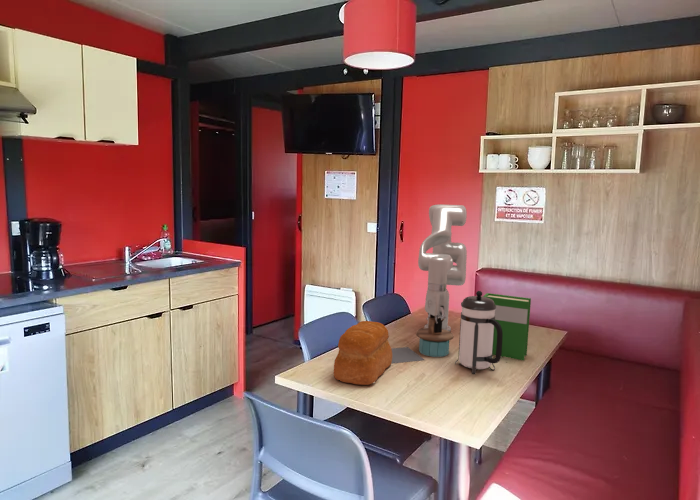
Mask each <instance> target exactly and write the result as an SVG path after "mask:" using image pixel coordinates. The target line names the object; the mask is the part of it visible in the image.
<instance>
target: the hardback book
mask: <svg viewBox="0 0 700 500" xmlns="http://www.w3.org/2000/svg"><path fill="white" fill-rule="evenodd" d="M482 297H487V298H490V299H492V300H493V301H494V303H495V305H496V309H495V320H496V321H497V322H499V324H500V325H501V328H502V332H503V339H502V354H501V358H502V357H503V358H506V359H507V358H508V359H514V360H518V361H525V356H527V354H528V343H529V331H530V330H529V329H530V318H531V317H530V316H531V305H532V298H531V297H529V298H528V297H522V296H514V295H507V294H504V295H503V294H498V293H491V292H490V293H489V292H487V293H485V294H484V295H482ZM493 336H494V341H493V348H492V351H493V356H496V345H497V330H496V327H495V326H494V333H493Z"/></svg>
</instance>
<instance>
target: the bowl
mask: <svg viewBox="0 0 700 500" xmlns="http://www.w3.org/2000/svg"><path fill="white" fill-rule="evenodd" d="M418 344H419V345H418V352H419V353H420V354H421V355H424V356H427V357H434V358H442V357H446V356H448V355H449V352H450V340H449V341H440V342H438V341H428V340H424V339H421V338H419V343H418Z"/></svg>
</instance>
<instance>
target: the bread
mask: <svg viewBox="0 0 700 500" xmlns="http://www.w3.org/2000/svg"><path fill="white" fill-rule="evenodd" d="M389 334H390V333H389V329H388V328H387V327H386V326H385V324H383V323H381V322H377V321H370V320H362V321H359V322H358V323H356V324H354V325H351V326H350V327H349V328H347V329H346V330H345V331H344V333H343V334H341V335H340V336H339V339H338V344H337V348H338V352H337V355H336V357H335V359H334V363H333V376H334V378H335V380H336V381H339V380H340V382H342V383H348V384H351V385H352V384H353V385H361V386H362V385H363V386H366V385H367V386H368V385H372V384H373V383H375V382H377V380H378V378H379V377H380V376H381V375H383V374H384V372H385V370H386V369H387V368H389V367H390V366H391V365H392V364H391V362H392V349H391V348H392V347H391V345H390V342H389V340H388V339H389V337H390V335H389Z"/></svg>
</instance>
